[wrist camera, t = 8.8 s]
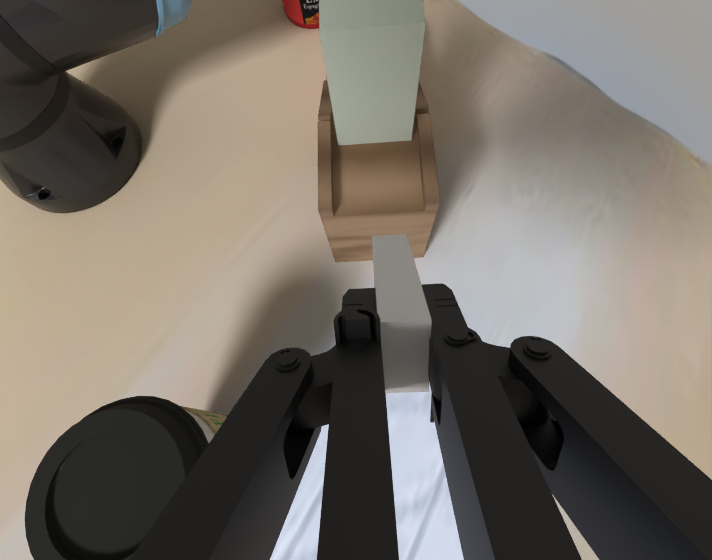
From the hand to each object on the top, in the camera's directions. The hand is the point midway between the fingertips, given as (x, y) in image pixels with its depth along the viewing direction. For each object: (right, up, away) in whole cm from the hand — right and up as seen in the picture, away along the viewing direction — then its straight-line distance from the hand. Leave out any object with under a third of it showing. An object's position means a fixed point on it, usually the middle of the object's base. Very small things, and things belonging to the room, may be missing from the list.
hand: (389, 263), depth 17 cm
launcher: (+1, +9, +24) cm, 26 cm away
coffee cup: (-14, -16, +17) cm, 27 cm away
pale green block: (0, +12, +14) cm, 18 cm away
